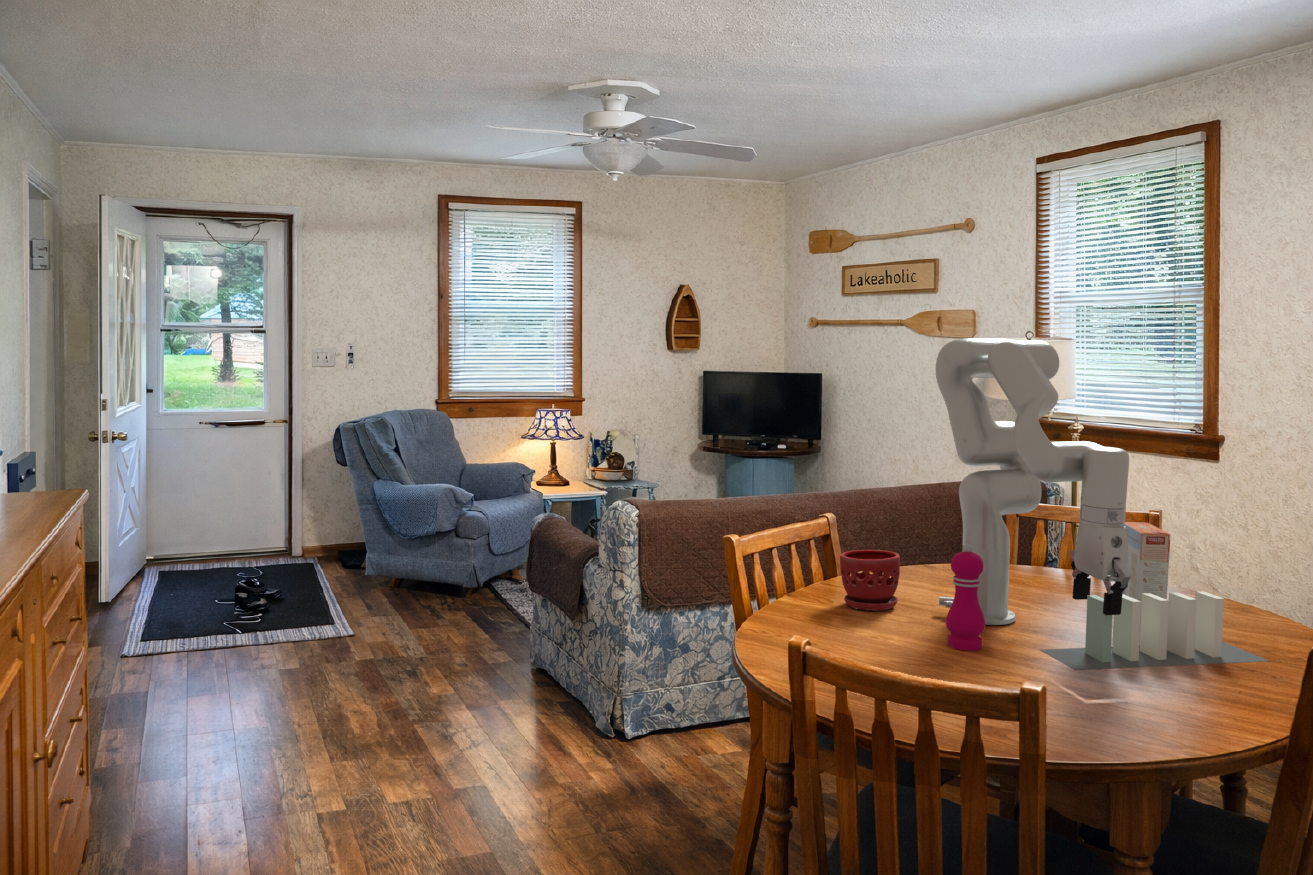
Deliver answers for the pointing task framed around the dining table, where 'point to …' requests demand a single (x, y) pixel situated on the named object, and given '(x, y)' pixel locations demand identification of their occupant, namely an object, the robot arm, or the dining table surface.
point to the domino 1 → (1127, 629)
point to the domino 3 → (1181, 625)
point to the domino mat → (1149, 658)
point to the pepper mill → (966, 602)
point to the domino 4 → (1209, 623)
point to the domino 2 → (1154, 626)
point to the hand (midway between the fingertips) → (1095, 606)
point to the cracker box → (1147, 560)
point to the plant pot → (870, 578)
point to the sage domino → (1098, 630)
